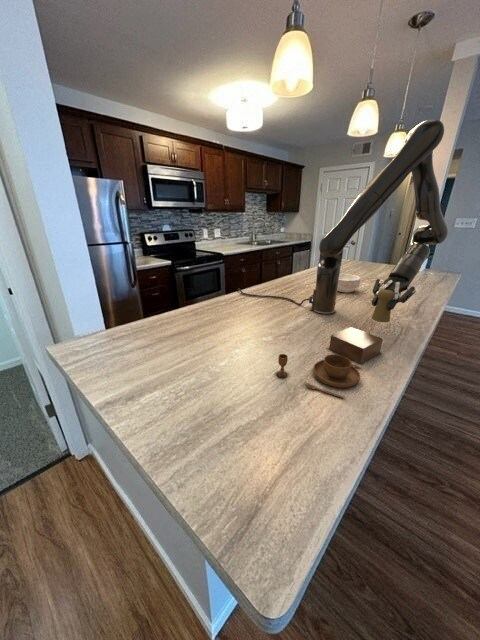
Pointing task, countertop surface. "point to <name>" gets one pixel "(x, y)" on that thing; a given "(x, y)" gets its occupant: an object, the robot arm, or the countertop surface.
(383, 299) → the cork
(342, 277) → the paper bowls
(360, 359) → the walnut block
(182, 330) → the countertop surface
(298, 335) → the countertop surface
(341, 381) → the place setting
